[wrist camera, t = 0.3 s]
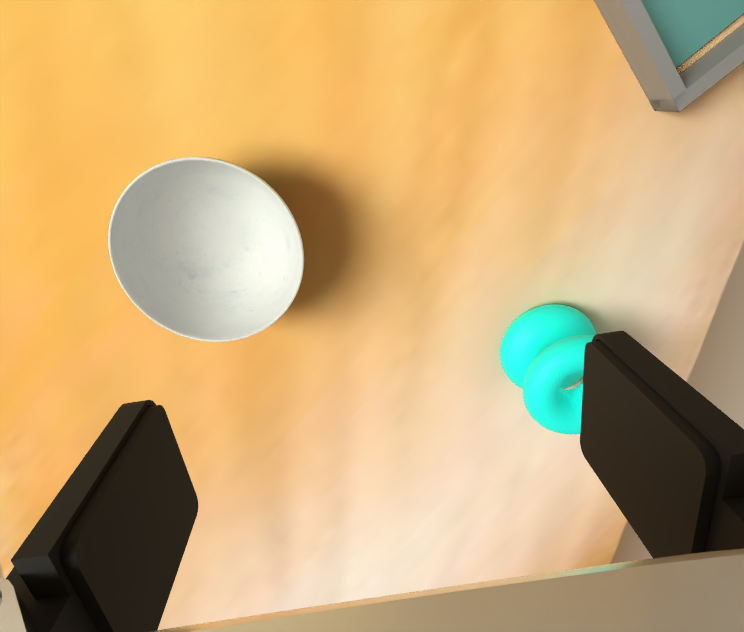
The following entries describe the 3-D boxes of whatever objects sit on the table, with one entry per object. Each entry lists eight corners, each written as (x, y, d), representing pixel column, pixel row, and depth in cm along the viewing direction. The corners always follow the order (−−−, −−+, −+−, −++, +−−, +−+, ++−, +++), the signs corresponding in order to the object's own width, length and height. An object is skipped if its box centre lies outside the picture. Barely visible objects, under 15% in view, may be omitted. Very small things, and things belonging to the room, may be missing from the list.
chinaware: (109, 201, 44) (64, 220, 37) (250, 114, 42) (231, 117, 35) (210, 332, 50) (188, 370, 43) (338, 261, 47) (338, 290, 40)
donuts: (647, 421, 45) (540, 453, 46) (595, 367, 54) (507, 394, 55) (635, 328, 41) (519, 365, 42) (581, 286, 50) (487, 317, 51)
